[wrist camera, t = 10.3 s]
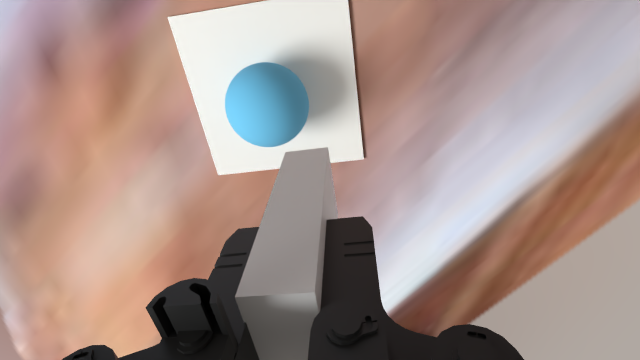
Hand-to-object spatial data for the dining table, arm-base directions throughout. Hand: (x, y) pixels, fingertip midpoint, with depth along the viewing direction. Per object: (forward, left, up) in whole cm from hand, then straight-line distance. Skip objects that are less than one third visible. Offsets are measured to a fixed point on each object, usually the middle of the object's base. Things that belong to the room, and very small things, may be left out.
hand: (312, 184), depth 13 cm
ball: (+3, -3, -12) cm, 12 cm away
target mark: (+3, -3, -14) cm, 15 cm away
